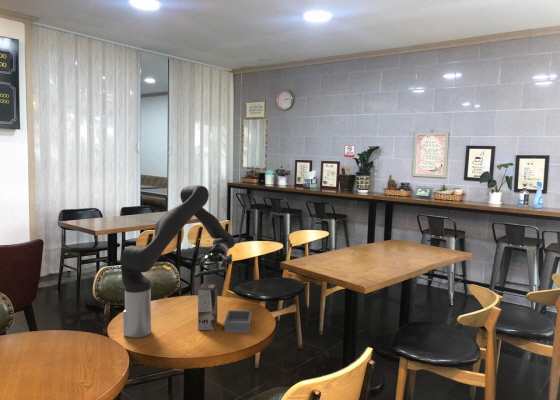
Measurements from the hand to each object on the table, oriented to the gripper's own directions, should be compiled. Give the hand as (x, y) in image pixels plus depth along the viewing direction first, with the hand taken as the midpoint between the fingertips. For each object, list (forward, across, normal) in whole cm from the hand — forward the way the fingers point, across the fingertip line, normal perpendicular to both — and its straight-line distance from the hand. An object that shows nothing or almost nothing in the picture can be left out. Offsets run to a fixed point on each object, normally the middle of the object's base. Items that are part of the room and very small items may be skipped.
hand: (212, 264), depth 181 cm
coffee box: (+11, 0, +22) cm, 25 cm away
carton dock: (+10, +12, +22) cm, 27 cm away
